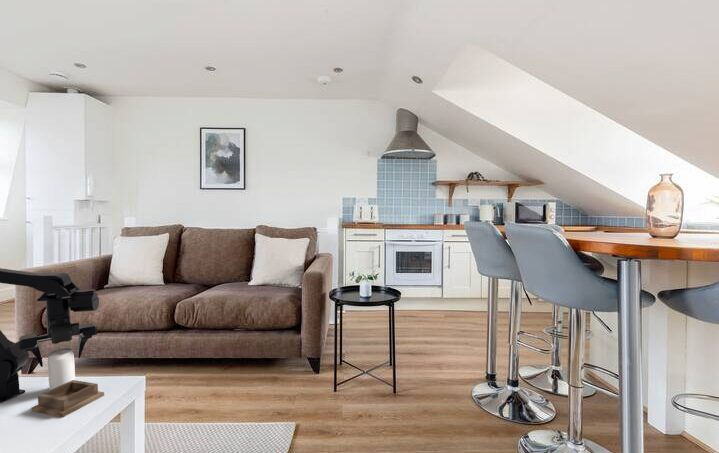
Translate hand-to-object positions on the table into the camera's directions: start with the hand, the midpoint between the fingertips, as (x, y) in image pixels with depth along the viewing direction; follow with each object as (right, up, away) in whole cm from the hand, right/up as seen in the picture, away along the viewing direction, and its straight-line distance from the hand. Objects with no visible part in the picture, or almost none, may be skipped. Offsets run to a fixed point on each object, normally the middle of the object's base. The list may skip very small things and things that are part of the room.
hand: (60, 362), depth 117 cm
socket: (+9, -9, -8) cm, 15 cm away
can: (0, -9, +1) cm, 9 cm away
